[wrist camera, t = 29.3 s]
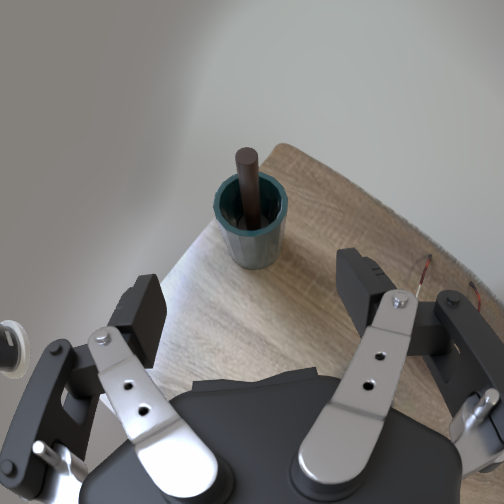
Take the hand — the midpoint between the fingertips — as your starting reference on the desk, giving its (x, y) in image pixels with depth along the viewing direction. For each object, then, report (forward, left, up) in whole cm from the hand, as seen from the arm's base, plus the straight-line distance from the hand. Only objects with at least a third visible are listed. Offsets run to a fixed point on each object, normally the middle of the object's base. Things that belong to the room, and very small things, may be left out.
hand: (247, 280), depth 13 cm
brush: (-7, +11, -30) cm, 33 cm away
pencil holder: (-7, +11, -31) cm, 34 cm away
